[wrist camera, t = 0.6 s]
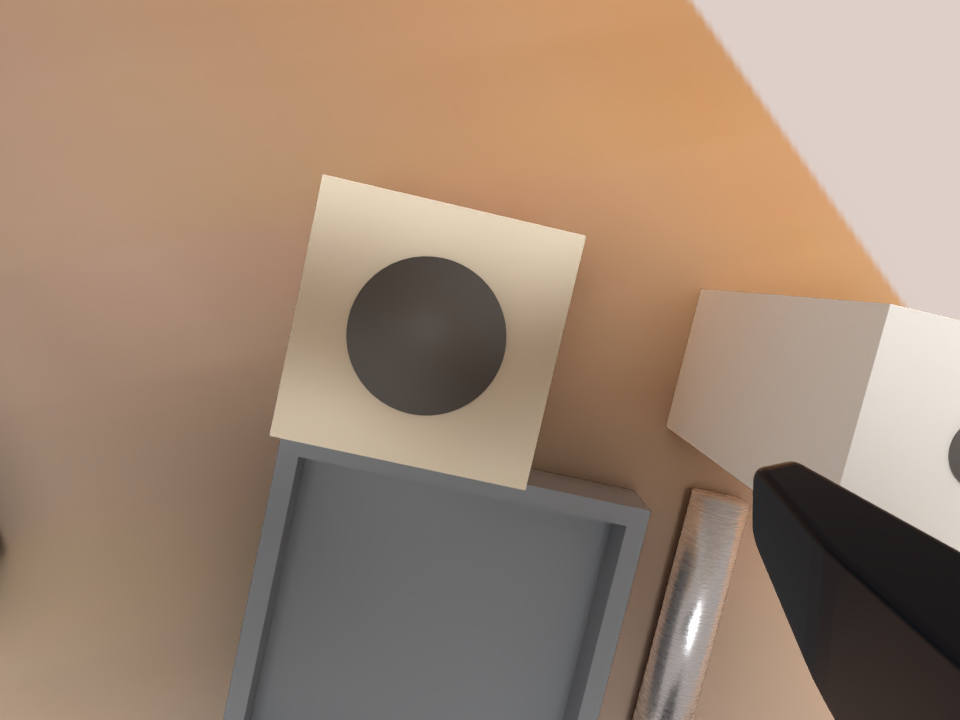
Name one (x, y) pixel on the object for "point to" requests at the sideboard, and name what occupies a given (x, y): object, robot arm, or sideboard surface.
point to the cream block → (829, 397)
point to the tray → (432, 594)
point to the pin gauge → (692, 606)
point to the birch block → (425, 333)
